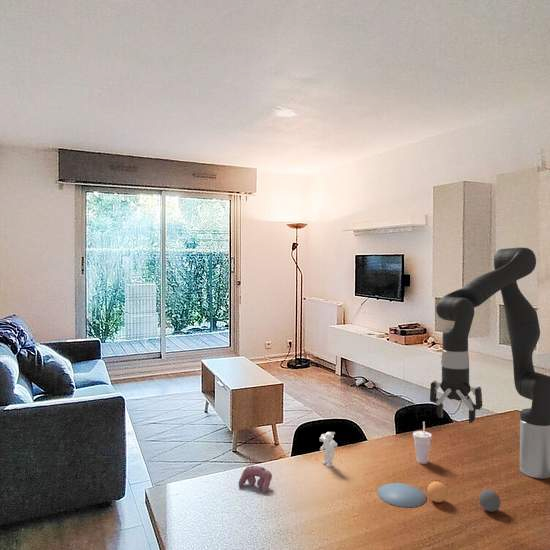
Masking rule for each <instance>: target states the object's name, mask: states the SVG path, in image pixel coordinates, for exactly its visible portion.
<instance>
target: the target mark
mask: <svg viewBox="0 0 550 550" xmlns="http://www.w3.org/2000/svg"><path fill="white" fill-rule="evenodd" d="M377 495H378V497H379V498H380V499H381V500H382V501H384V502H385V503H387V504H389V505H392V506H395V507H399V508H416V506H417V507H420V506H422V505H424V504H425V502H426V501H427V495H426V494H425V492H424V491H423V490H421V489H420V488H418V487H416V486H413V485H410V484H407V483H401V482H392V483H390V482H389V483H386V484H383V485H381V486H380V487H379V488H378V489H377Z"/></svg>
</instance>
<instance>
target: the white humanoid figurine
mask: <svg viewBox="0 0 550 550" xmlns="http://www.w3.org/2000/svg"><path fill="white" fill-rule="evenodd" d="M335 435H336V432H335V431H327V432H326V433H322V434H321V435H320V437H319V442H322V446H320V448H319V451H321V452H322V451H324V454H323V458H324V459H323V461H322V464H323V465H325V466H326V467H327V468H332V467H333V466H334V464H333V463H334V462H333V460H334V458H335V457H334V456H335V455H334V454H335V450H336V449H337V448H338V443H337V442H336V441H335V440H334V439H333V438H334V437H335ZM332 459H333V460H332Z"/></svg>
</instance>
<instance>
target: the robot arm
mask: <svg viewBox="0 0 550 550" xmlns="http://www.w3.org/2000/svg"><path fill="white" fill-rule="evenodd" d="M536 265H537V257H536V254H535V252H534V251H533V250H532V249H530V248H528V247H521V246H519V247H511V248H500V249H498V250H497V251H496V252H495V254H494V257H493V268H494V269H493V270H492V271H489V272H486V273H484V274H481V275H479V276H477V277H476V278H474V279H473V280H472V281H470V282H469V283H467V284H466V285H465V286H464V287H462V288H459V289H456V290H454V291H452V292H450V293H447V294H446V295H444V296H442V297H441V298H440V299H439V300H438V301H437V303H436V306H435V311H436V315H437V316H438V317H439V318H440V319H442V320H445V321H451V322H454V324H453V326H452V328H447V329H445V330H443V331H442V342H441V343H442V352H441V359H440V360H441V363H440V364H441V382H439V381H436V380H433V381H432V382H431V383H430V394H429V395H430V396H429V401H430V402H431V403H434V404H435V405H436V416H438V418H441V419H442V418H443V417H444V403H443V402H444V401H445V400H446V399H447V398H448V400H455V401H459V402H460V401H462V402H463V404H464V405H466V407H468V409H469V410H468V423H470V424H472V423H473V422H475V420H476V411H477V410H481V409H482V408H483V396H482V393H483V392H482V387H481V386H477V387H474V386H472V387H471V384H470V355H469V354H470V353H469V334H470V331H471V327H472V324H473V320H474V317H475V308H478V307H479V306H481V305H482V304H484V303H485V302H486V301H487V300H488V299H490V298H491V297H492V296H494V295H495V294H496V293H498V292H500V294H501V298H502V302H503V306H504V307H503V308H504V312H505V321H506V326H507V331H508V336H509V342H510V348H511V356H512V363H513V365H512V367H513V368H512V369H513V382H514V383H513V384H514V387H515V390H516V392H517V394H518V395H519V396H521V397H523V398H525V399H528V400H530V401H531V407H529V408H523V409H522V410H521V411H520V413H519V472H521V473H522V474H523V475H525V476H528V477H530V478H534V479H549V478H550V375H548V374H544V373H540V372H537V371H535V368H534V362H533V354H534V351H535V348H536V347H537V345H538V342H539V340H540V337H541V329H540V328H541V327H540V322H539V317H538V313H537V311H536V310H535V308H534V307H533V305H532V304H531V302H530V301H529V300H528V299H527V297H525V296H524V294H523V293H522V292H521V289H520V288H519V285H518V282H517V281H519V280H521V279H523V278H525V277H526V276H529V275H531V274H532V273H533V271H534V270H535V268H536ZM439 388H440V389H441V390H442V392H443V393H442V395H441V396H440V397H439V398H438V397H437V392H438V390H439ZM470 392H471V393H472V394H473V396H474V397H475V399H474V400H475V403H474V402H473V400H472V397H471V396H470V395H469V394H470Z"/></svg>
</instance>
